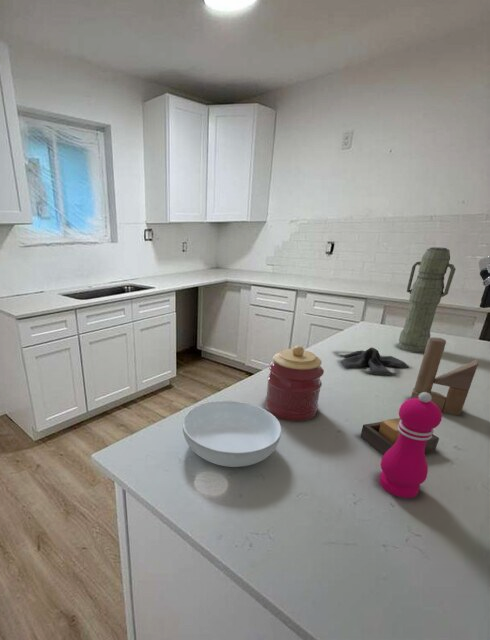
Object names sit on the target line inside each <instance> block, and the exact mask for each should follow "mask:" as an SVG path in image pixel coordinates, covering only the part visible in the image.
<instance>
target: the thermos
mask: <svg viewBox="0 0 490 640" xmlns="http://www.w3.org/2000/svg"><path fill="white" fill-rule="evenodd" d="M450 260H451V251H450V249H448V248H447V247H435V246H434V247H429V248H427V249H426V250H425V252H424V253H423V255H422V256H421V261H416V262H415V263H414V264H413V265H412V267H411V270H410V276H409V279H408V282H407V283H408V284H407V289H406V292H407V293H409V298H408V299H409V306H408V310H407V313H406V318H405V322H404V325H403V329H402V330H401V332H400V334H399V338H398V344H397V347H398V348H399V350H403V351H406V352H409V353H425V349H426V346H427V342H428V339H429V338H431V328H432V325H433V322H434V318H435V315H436V311H437V308H438V305H439V304H440V303H441V300H442V298H443V297H445V296H447V295H448V294H449V291H450V288H451V284H452V282H453V279H454V275H455V272H456V267H455V265H454V264H452V263H450ZM417 266H419V268H418V275H417V276H416V279H415V281H414V283H413V284H412V282H413V279H414V275H415V271H416V267H417ZM448 268H449V269H450V271H449V275H448V278H447V282H446V285H445V275H446V274H447V271H448Z"/></svg>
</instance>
